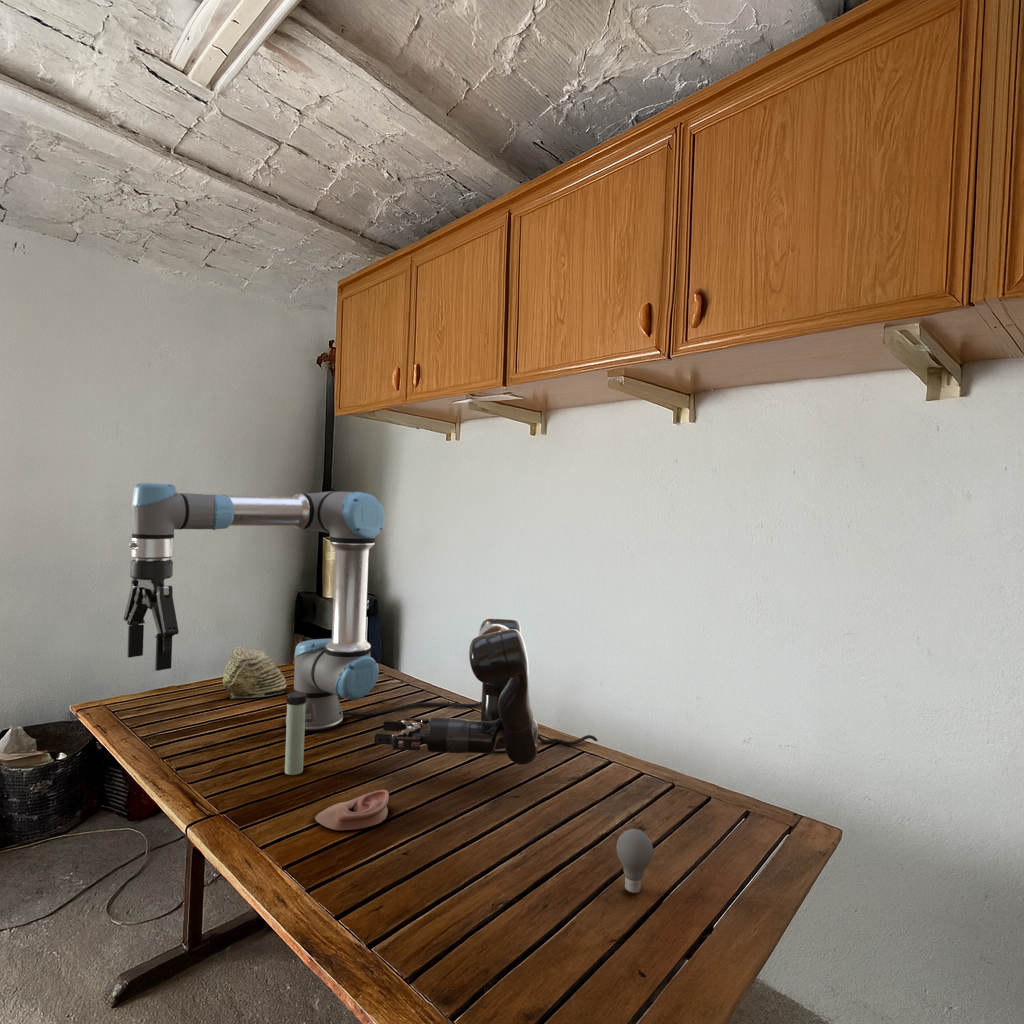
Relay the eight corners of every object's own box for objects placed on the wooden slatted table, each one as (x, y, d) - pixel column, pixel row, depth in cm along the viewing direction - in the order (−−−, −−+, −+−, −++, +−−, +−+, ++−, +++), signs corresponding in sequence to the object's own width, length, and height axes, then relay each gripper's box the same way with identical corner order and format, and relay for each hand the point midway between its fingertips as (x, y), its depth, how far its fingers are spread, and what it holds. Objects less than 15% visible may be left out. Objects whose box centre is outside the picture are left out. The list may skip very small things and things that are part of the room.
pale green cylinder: (306, 770, 146) (309, 696, 146) (291, 776, 143) (294, 700, 142) (295, 766, 148) (298, 692, 148) (280, 771, 145) (283, 696, 144)
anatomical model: (307, 805, 121) (336, 780, 133) (306, 826, 121) (335, 798, 133) (372, 815, 119) (395, 788, 130) (371, 836, 119) (394, 807, 130)
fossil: (218, 695, 195) (220, 647, 195) (278, 685, 208) (279, 640, 207) (228, 703, 189) (230, 653, 188) (289, 692, 201) (290, 645, 201)
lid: (310, 701, 146) (310, 694, 146) (294, 706, 142) (294, 698, 142) (298, 697, 148) (298, 690, 148) (282, 701, 144) (282, 694, 144)
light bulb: (610, 879, 108) (613, 822, 108) (644, 879, 109) (647, 822, 109) (619, 902, 102) (622, 840, 102) (655, 901, 103) (658, 840, 103)
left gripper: (108, 554, 134) (104, 654, 134) (159, 565, 118) (155, 678, 119) (146, 552, 140) (143, 648, 140) (199, 563, 124) (195, 671, 124)
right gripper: (454, 709, 151) (386, 705, 152) (446, 729, 137) (372, 725, 137) (453, 740, 151) (385, 737, 151) (445, 764, 137) (370, 760, 137)
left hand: (148, 662), depth 129 cm, fingers open, 13 cm apart
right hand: (379, 731), depth 144 cm, fingers open, 8 cm apart
